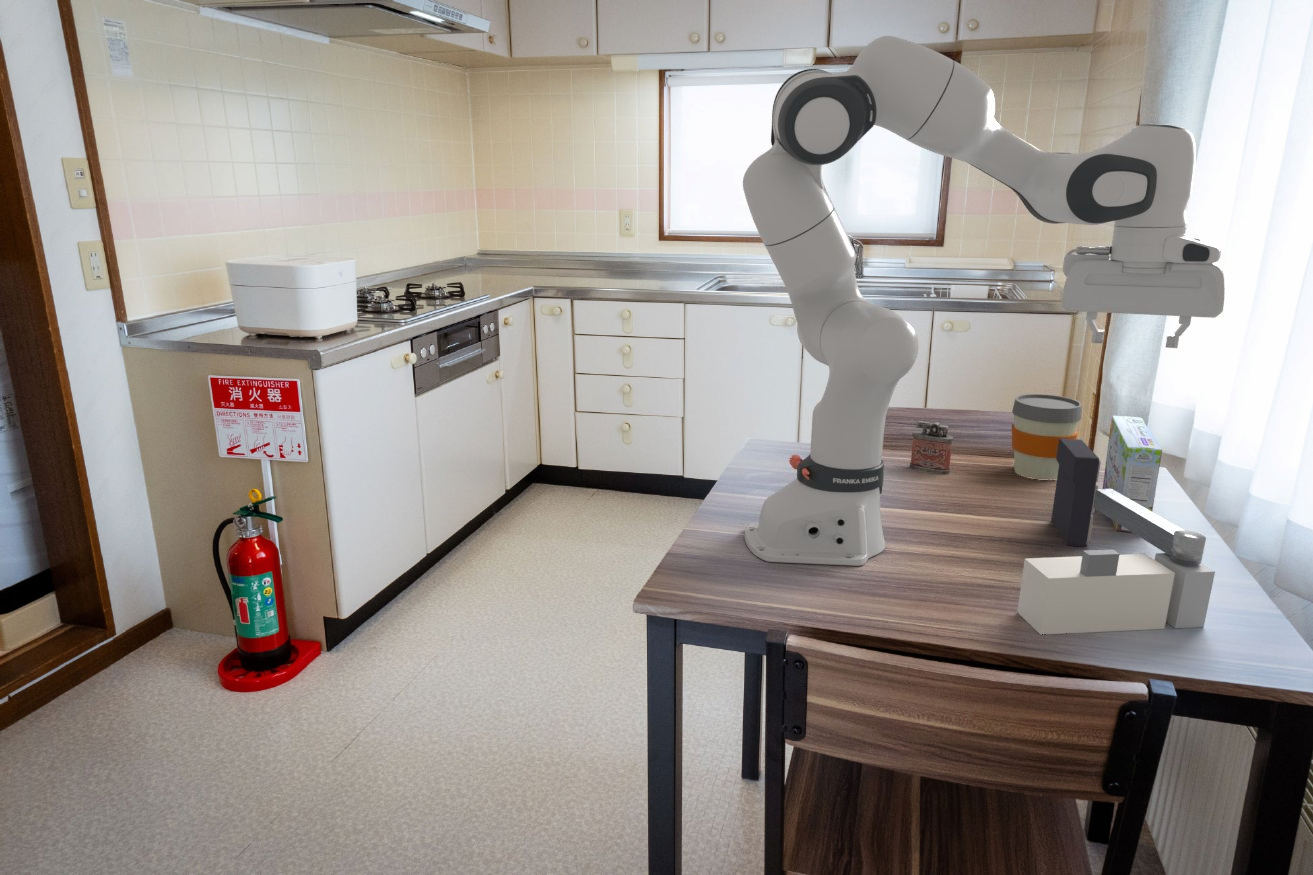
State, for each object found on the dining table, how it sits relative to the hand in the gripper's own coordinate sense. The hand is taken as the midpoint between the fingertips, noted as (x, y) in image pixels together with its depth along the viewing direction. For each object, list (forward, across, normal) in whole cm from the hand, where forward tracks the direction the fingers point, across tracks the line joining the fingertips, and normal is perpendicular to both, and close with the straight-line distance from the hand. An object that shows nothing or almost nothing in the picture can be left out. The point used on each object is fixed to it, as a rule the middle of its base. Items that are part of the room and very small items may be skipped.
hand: (1133, 344), depth 124 cm
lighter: (+34, -34, +30) cm, 56 cm away
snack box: (+34, +1, +24) cm, 42 cm away
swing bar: (+25, +5, -9) cm, 27 cm away
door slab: (+33, 0, -23) cm, 41 cm away
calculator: (+34, -6, +8) cm, 35 cm away
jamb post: (+34, +10, -16) cm, 38 cm away
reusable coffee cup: (+34, -14, +38) cm, 54 cm away
